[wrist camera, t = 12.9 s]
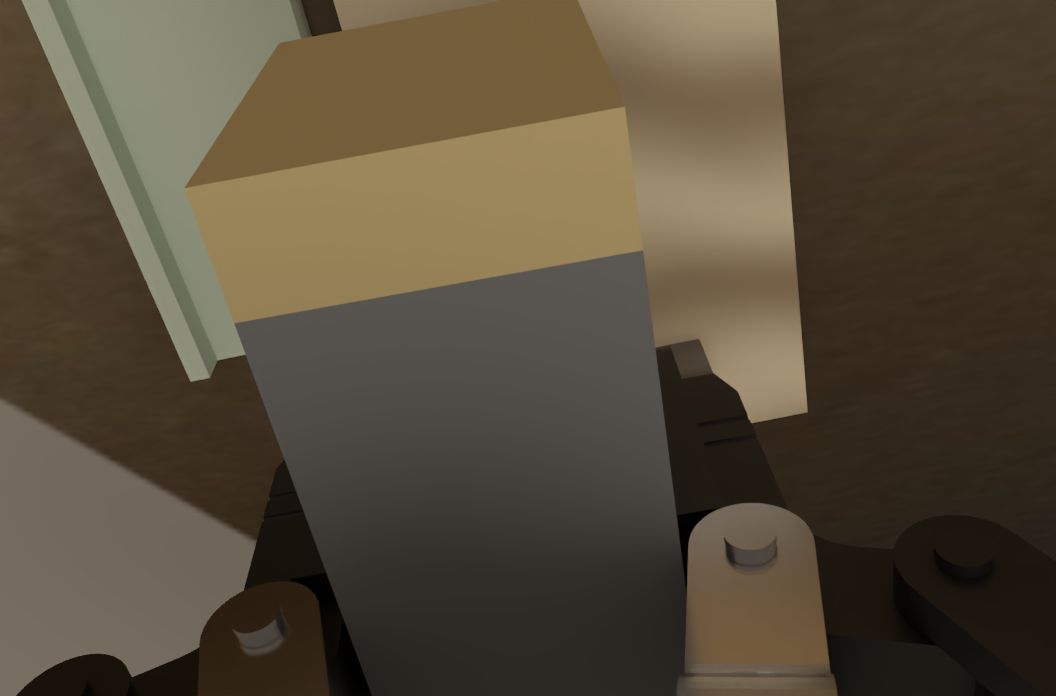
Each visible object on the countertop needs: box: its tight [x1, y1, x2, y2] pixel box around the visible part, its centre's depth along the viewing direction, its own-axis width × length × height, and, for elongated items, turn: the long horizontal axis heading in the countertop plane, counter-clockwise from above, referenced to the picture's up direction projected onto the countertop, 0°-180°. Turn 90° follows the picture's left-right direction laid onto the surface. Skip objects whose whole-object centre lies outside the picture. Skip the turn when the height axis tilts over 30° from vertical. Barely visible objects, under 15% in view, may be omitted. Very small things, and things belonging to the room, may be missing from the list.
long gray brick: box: [184, 0, 687, 696], centre depth 12 cm, size 10×3×4 cm, turn 10°
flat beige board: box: [333, 0, 808, 423], centre depth 26 cm, size 23×11×4 cm, turn 12°
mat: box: [22, 0, 312, 382], centre depth 27 cm, size 13×6×1 cm, turn 12°
